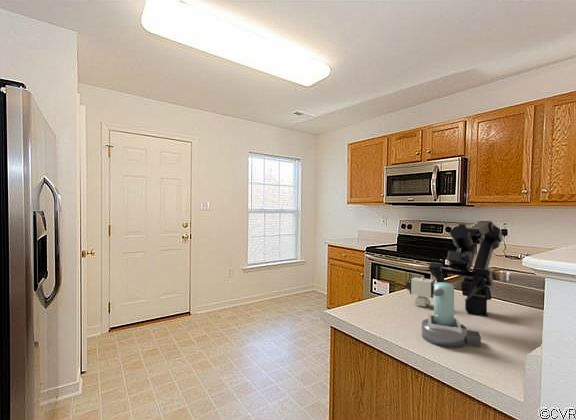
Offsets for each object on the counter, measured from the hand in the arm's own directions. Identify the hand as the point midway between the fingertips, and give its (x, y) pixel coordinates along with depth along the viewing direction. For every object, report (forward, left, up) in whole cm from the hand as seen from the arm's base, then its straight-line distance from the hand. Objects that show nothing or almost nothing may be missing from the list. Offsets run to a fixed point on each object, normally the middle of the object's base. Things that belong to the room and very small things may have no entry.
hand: (452, 294), depth 99 cm
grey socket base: (+1, +7, -12) cm, 14 cm away
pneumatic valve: (+9, -24, -13) cm, 29 cm away
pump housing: (+4, +8, -8) cm, 12 cm away
